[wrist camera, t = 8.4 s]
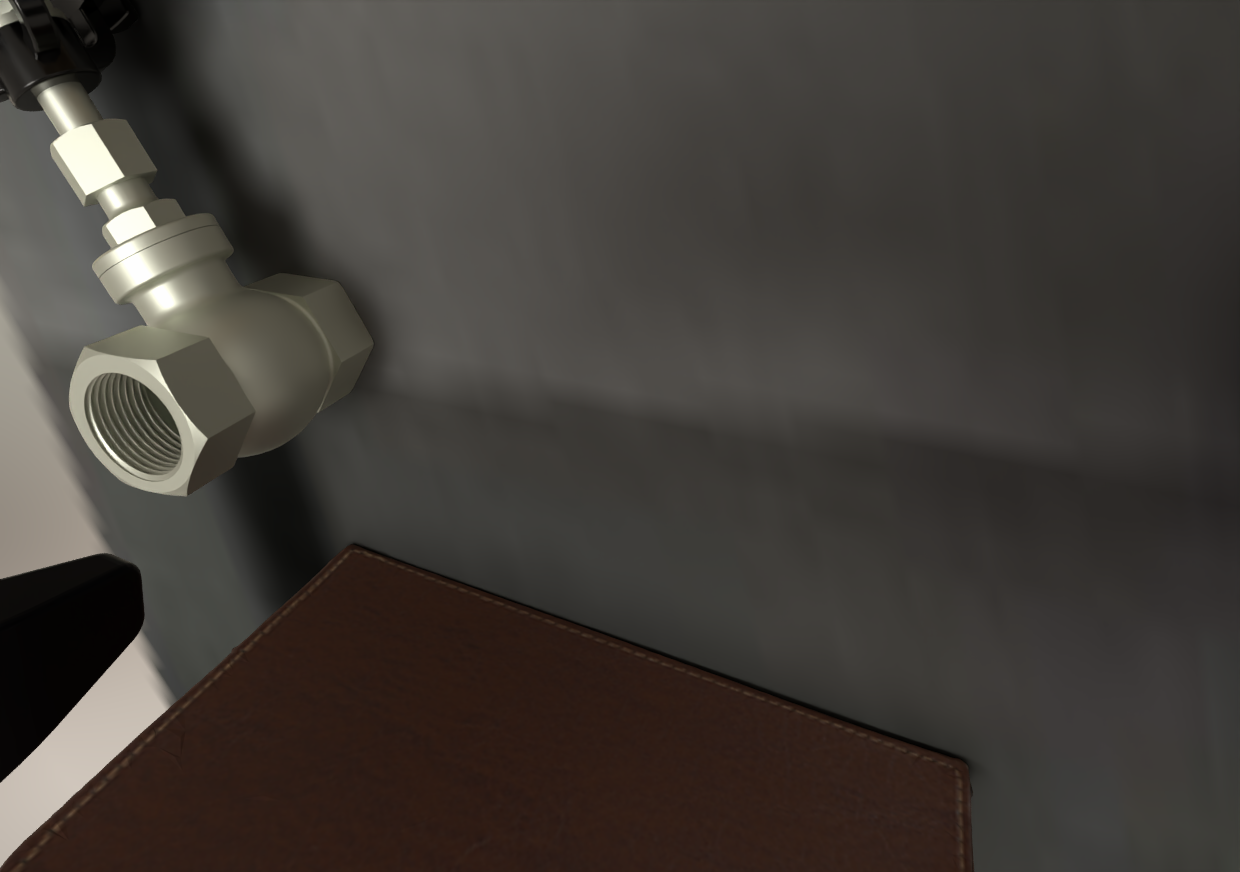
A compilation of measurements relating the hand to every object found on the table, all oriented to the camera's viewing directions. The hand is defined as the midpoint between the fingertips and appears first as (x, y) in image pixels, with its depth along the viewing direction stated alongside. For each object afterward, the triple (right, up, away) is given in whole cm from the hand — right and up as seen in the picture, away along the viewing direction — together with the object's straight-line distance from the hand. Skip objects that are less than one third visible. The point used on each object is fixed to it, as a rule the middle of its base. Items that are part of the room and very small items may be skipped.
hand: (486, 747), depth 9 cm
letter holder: (+1, -7, +19) cm, 20 cm away
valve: (-9, +10, +14) cm, 19 cm away
